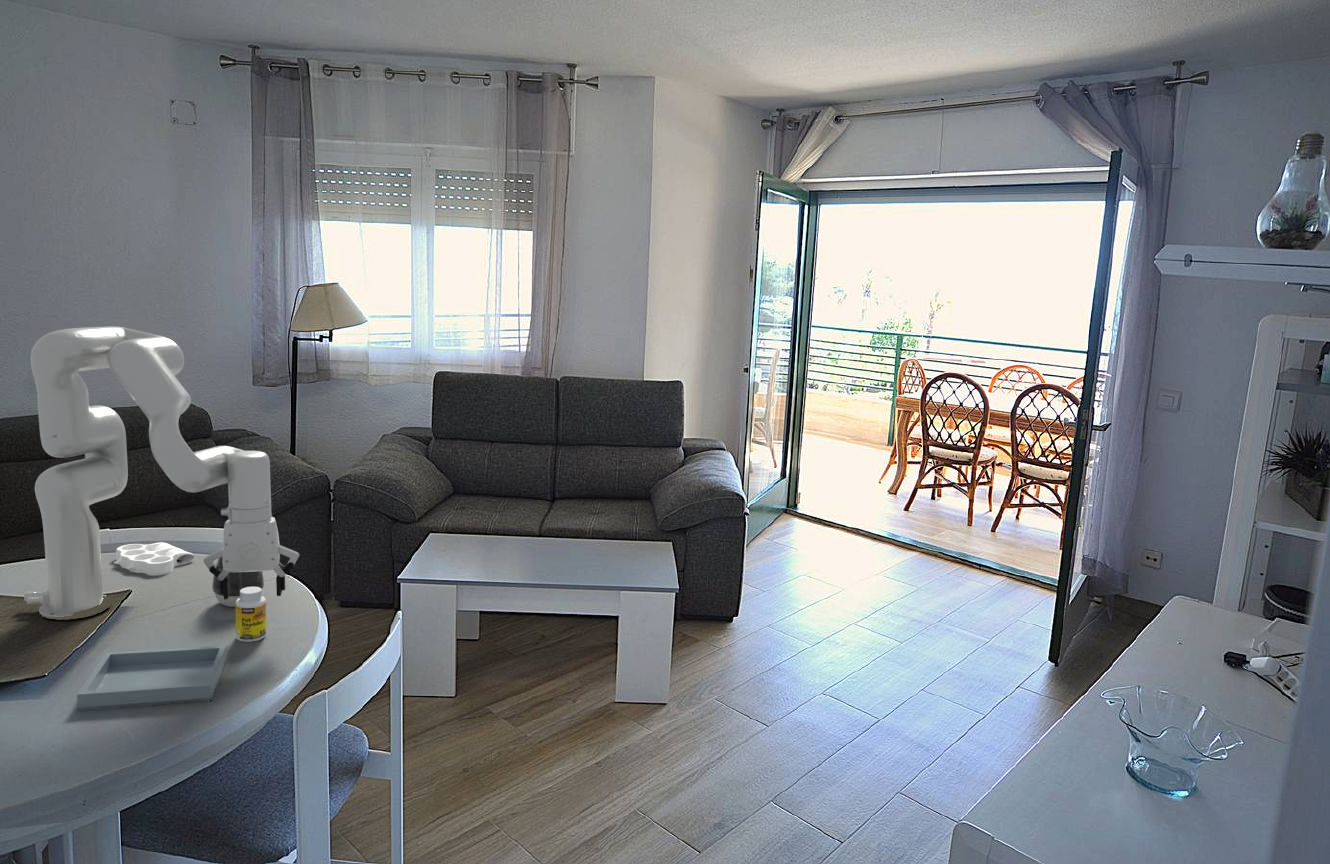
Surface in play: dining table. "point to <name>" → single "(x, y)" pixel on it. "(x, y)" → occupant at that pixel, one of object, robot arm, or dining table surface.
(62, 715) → the dining table surface
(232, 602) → the black egg-shaped figure
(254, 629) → the supplement bottle
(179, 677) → the tray
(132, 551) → the white multi-hole holder
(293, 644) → the dining table surface
